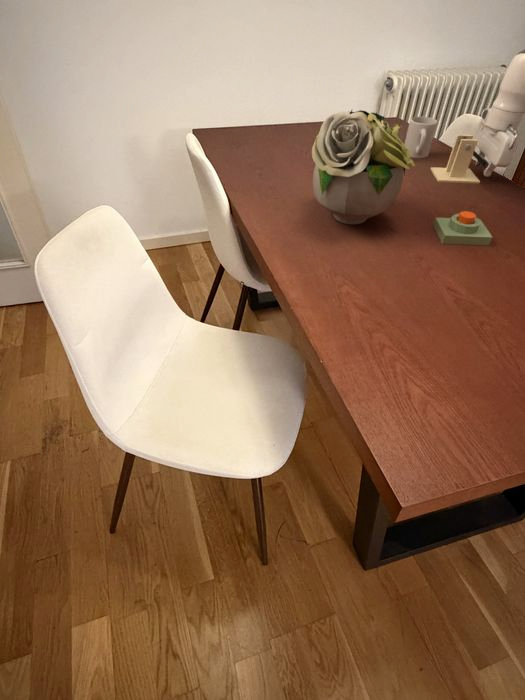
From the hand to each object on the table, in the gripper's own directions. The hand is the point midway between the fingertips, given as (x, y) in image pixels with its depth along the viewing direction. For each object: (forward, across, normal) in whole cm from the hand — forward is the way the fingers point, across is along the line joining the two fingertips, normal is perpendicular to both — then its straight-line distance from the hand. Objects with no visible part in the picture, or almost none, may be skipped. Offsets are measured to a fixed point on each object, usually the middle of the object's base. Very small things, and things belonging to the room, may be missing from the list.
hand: (482, 170), depth 120 cm
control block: (+3, -35, +16) cm, 39 cm away
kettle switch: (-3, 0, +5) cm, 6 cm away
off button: (-1, -35, +16) cm, 38 cm away
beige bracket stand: (+3, 0, +8) cm, 8 cm away
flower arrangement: (+4, -28, +42) cm, 50 cm away
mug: (+4, +17, +15) cm, 23 cm away
